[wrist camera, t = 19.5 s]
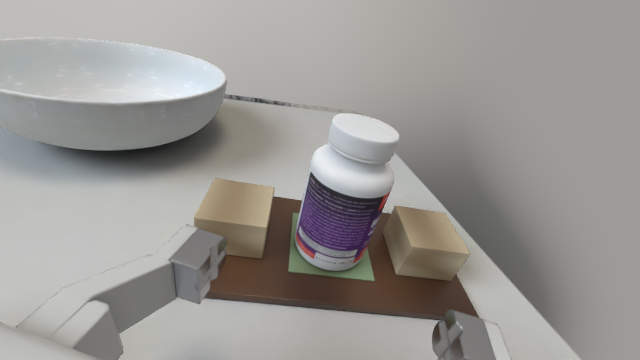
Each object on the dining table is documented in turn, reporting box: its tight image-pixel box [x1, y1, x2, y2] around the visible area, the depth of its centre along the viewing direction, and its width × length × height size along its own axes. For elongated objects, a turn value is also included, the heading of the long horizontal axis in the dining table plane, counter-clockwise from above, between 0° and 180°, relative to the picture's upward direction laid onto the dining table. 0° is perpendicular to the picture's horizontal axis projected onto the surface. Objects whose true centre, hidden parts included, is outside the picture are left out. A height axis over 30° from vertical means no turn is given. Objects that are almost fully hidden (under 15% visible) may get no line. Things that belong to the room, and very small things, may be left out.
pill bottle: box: [295, 114, 399, 271], centre depth 19 cm, size 5×5×10 cm
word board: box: [194, 178, 479, 320], centre depth 21 cm, size 20×10×4 cm, turn 92°
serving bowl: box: [0, 38, 227, 150], centre depth 28 cm, size 21×21×7 cm
